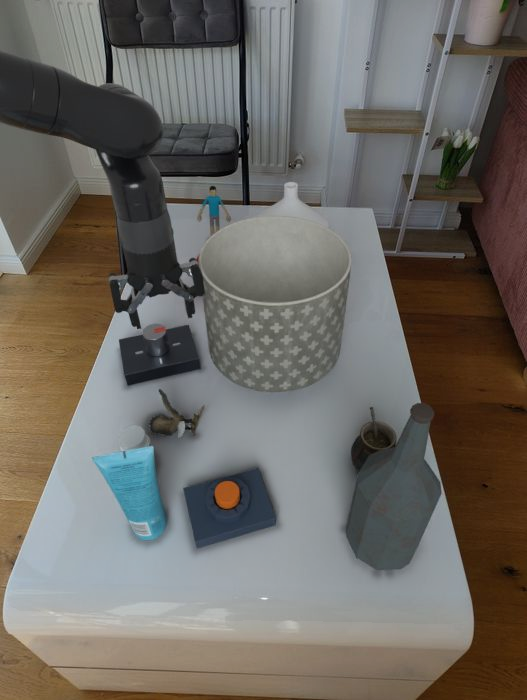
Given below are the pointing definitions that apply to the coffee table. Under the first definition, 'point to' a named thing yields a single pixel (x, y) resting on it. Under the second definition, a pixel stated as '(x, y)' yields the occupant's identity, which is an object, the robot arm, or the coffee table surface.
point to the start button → (227, 494)
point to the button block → (233, 522)
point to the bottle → (394, 498)
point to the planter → (275, 301)
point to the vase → (294, 207)
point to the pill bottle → (133, 438)
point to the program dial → (155, 339)
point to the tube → (135, 489)
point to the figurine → (213, 210)
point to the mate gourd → (372, 440)
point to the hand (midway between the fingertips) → (164, 320)
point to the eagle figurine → (173, 420)
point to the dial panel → (159, 357)
